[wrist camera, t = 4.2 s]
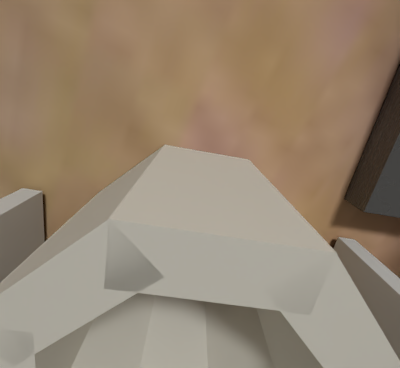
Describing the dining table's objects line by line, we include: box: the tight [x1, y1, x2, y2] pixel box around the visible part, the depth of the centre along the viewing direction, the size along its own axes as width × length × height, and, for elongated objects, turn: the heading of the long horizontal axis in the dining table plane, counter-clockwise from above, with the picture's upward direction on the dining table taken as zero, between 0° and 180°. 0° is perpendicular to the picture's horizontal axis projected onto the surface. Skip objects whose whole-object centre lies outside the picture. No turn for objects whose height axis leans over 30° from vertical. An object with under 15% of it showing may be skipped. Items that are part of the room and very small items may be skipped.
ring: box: [0, 145, 400, 368], centre depth 7 cm, size 8×8×6 cm
